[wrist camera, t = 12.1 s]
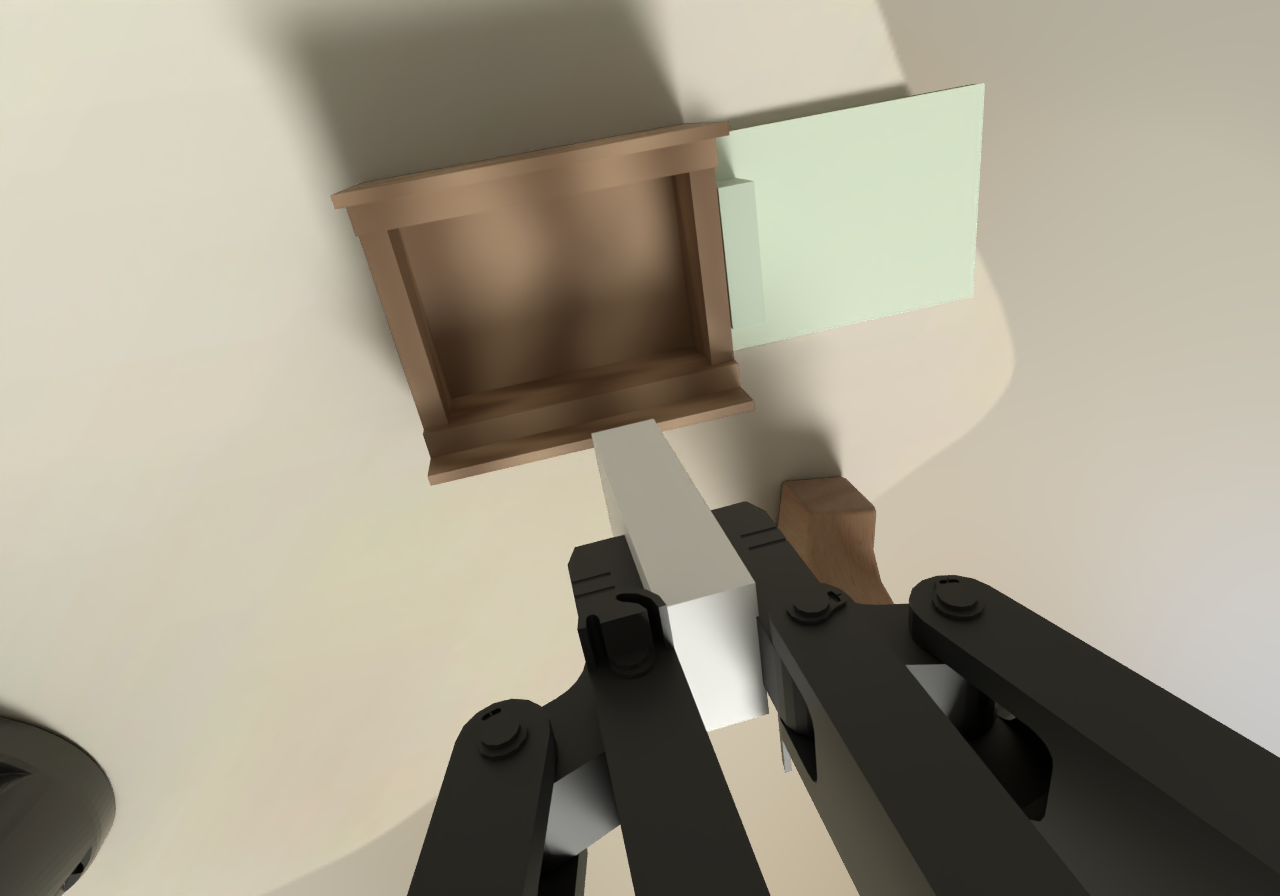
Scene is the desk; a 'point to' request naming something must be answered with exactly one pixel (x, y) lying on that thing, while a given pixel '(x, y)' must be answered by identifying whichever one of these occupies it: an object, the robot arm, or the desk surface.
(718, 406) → the box
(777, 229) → the lid
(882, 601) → the wooden block
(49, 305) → the desk surface
